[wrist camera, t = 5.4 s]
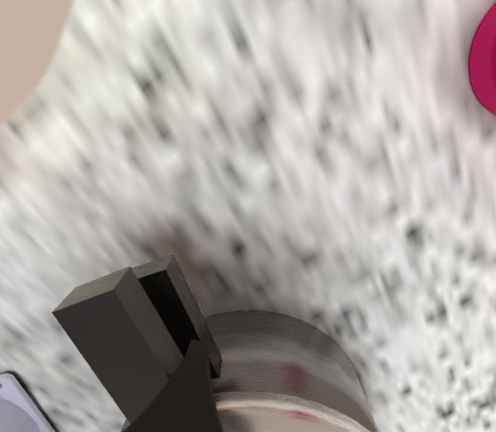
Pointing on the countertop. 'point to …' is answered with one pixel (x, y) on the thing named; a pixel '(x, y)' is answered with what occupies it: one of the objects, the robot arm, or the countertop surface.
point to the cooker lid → (168, 361)
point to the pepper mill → (485, 62)
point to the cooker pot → (256, 347)
